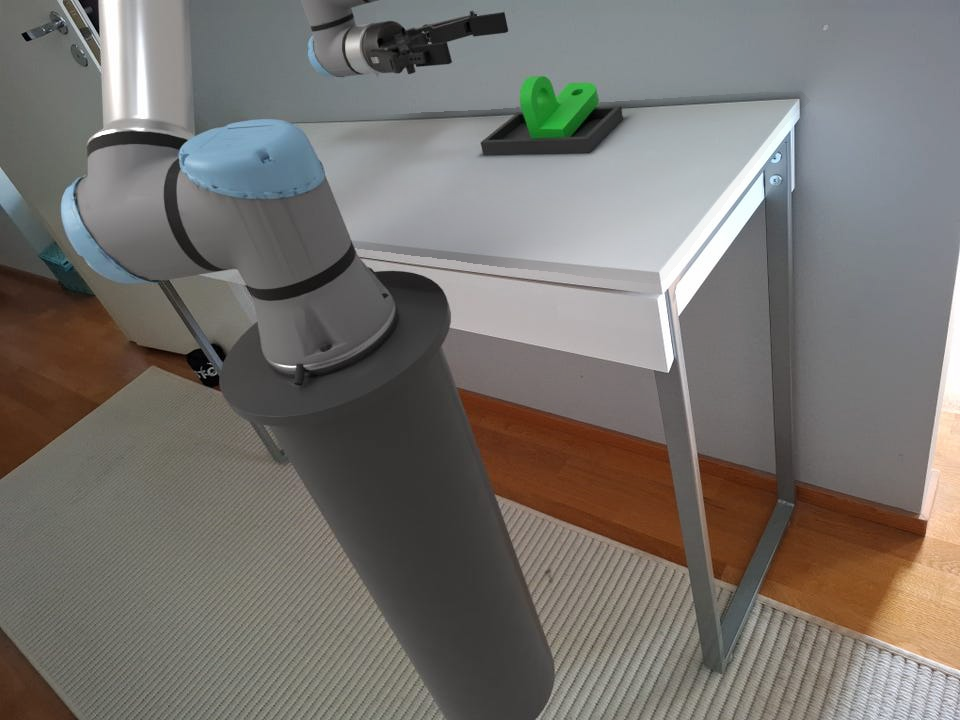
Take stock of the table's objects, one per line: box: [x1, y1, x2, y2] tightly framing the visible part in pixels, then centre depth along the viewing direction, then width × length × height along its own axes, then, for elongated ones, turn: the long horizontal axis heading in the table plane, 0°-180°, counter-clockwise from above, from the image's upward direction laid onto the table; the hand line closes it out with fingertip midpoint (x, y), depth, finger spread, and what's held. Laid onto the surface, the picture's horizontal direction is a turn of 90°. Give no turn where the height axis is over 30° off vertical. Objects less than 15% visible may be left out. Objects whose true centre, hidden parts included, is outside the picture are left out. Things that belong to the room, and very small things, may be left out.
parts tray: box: [480, 105, 624, 156], centre depth 98 cm, size 12×18×2 cm, turn 58°
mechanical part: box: [519, 75, 600, 138], centre depth 96 cm, size 12×6×8 cm, turn 142°
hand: (477, 37), depth 96 cm, fingers open, 13 cm apart
